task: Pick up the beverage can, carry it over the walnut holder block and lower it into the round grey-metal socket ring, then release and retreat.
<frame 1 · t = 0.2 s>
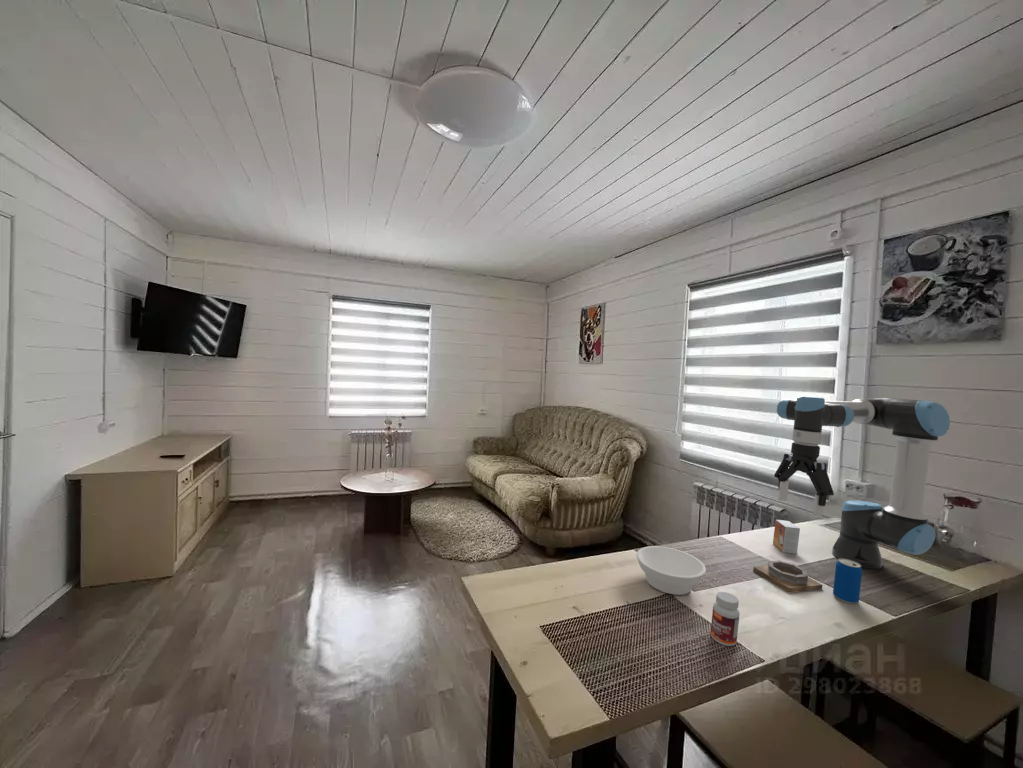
hand: (799, 507, 134), 27 cm above the table, fingers open, 13 cm apart
beverage can: (845, 599, 130), on the table
socket: (786, 579, 141), on the table
pill bottle: (723, 639, 107), on the table
small box: (784, 549, 167), on the table
bowl: (668, 585, 132), on the table
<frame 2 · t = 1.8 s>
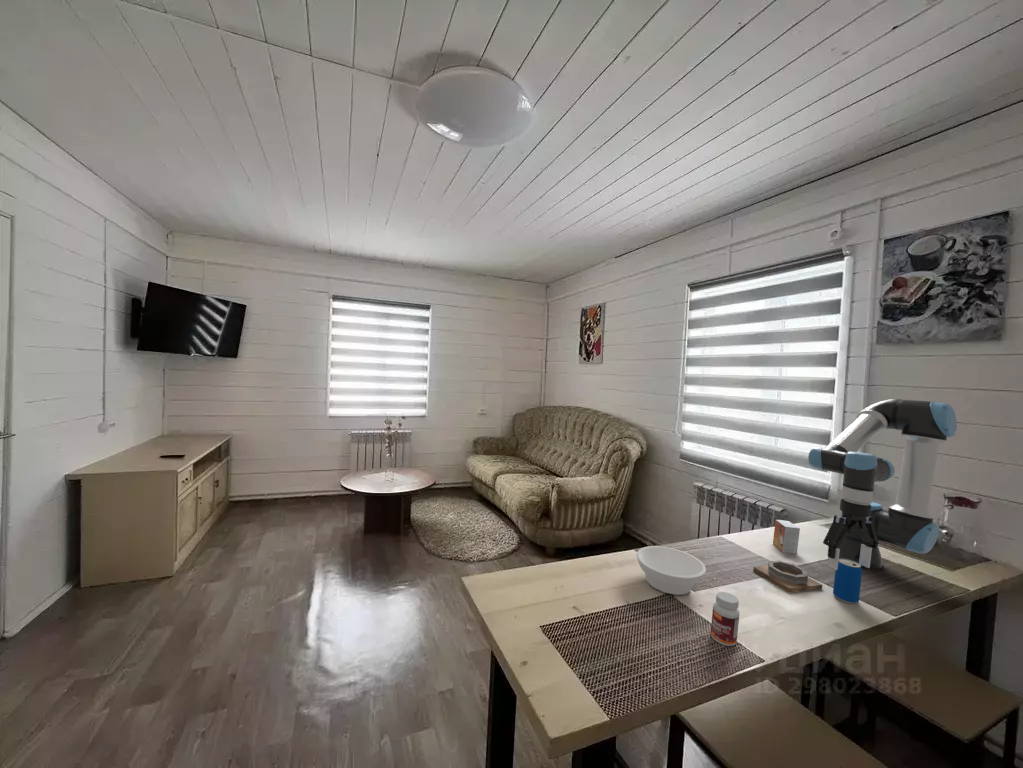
hand: (848, 566, 130), 11 cm above the table, fingers open, 13 cm apart
nothing on the table moved.
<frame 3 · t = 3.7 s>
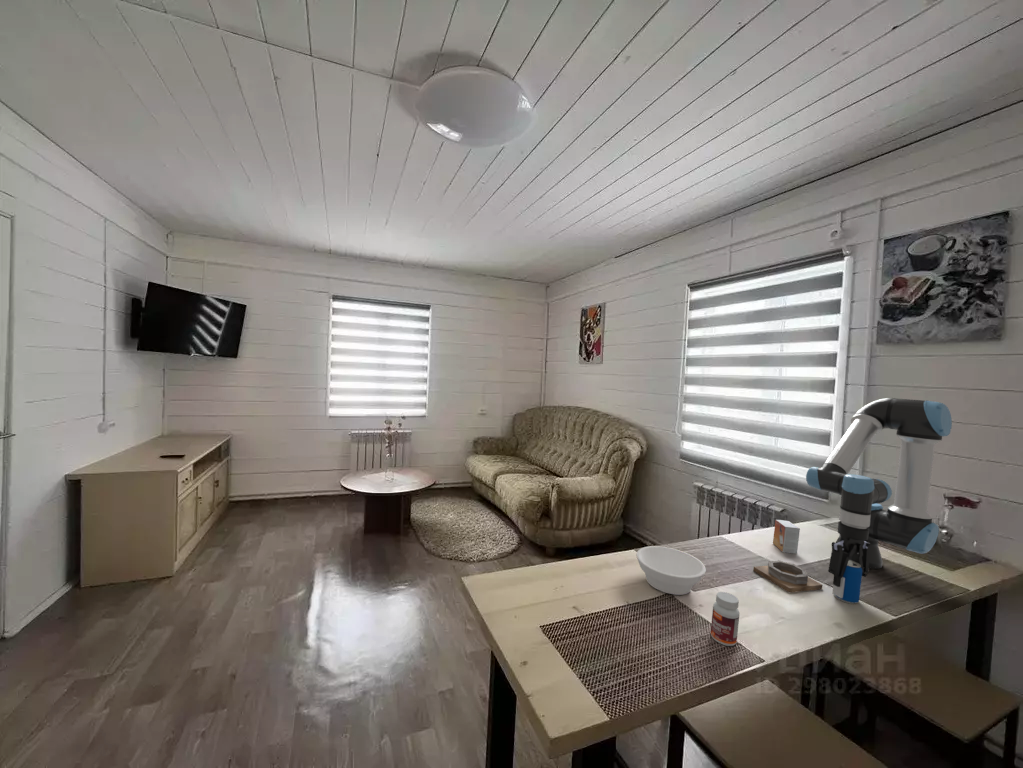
hand: (846, 594, 130), 1 cm above the table, fingers closed on beverage can, 6 cm apart
beverage can: (845, 599, 130), on the table, touching gripper
everything else where it was.
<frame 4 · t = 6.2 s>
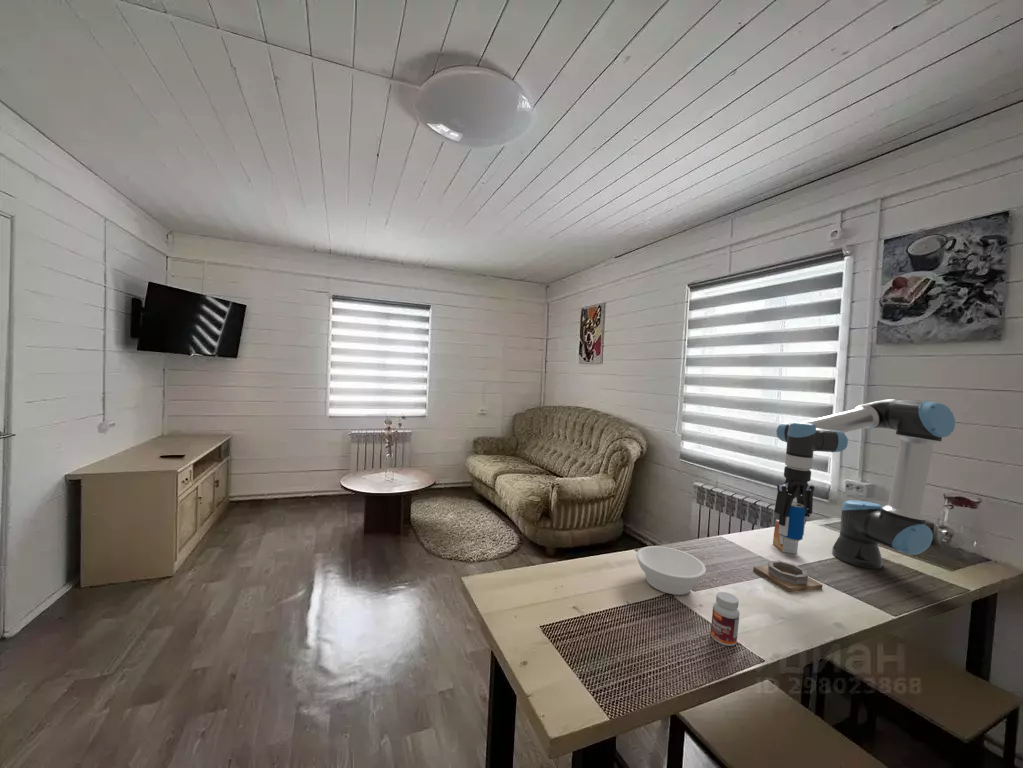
hand: (791, 533, 140), 16 cm above the table, fingers closed on beverage can, 6 cm apart
beverage can: (790, 538, 140), point 15 cm above the table, touching gripper
everything else where it was.
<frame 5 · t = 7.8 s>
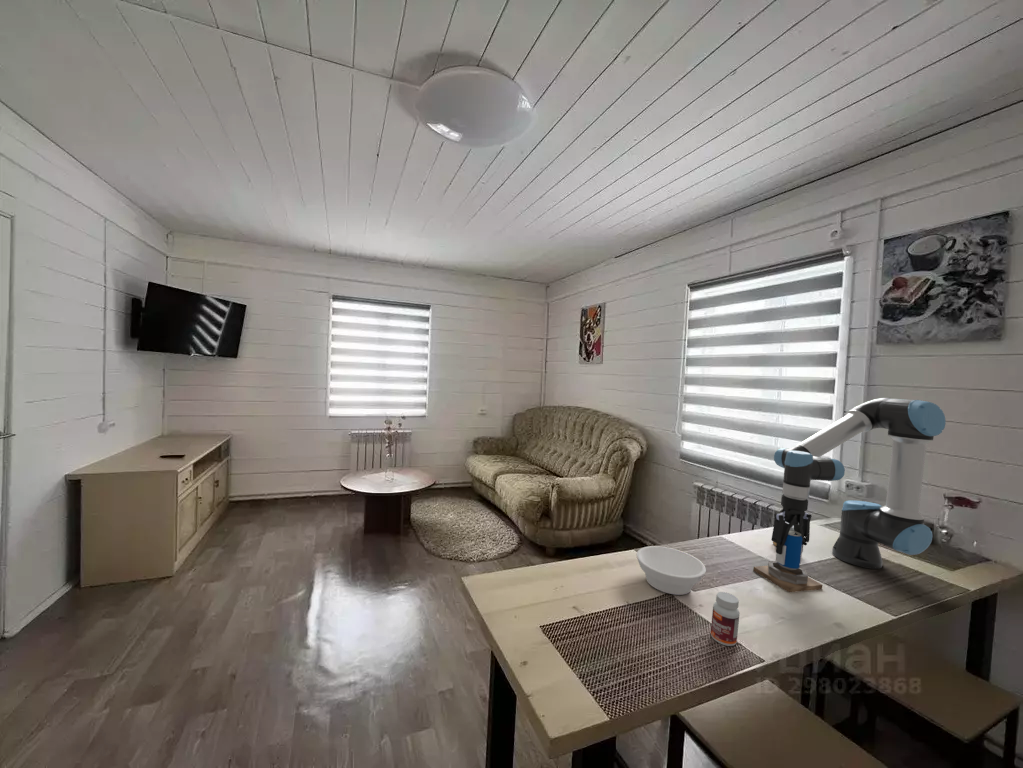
hand: (788, 562, 140), 6 cm above the table, fingers closed on beverage can, 6 cm apart
beverage can: (787, 566, 140), point 5 cm above the table, touching gripper
everything else where it was.
when the fingers open (5 cm above the table, at t = 8.8 s): beverage can drops 2 cm, resting on socket.
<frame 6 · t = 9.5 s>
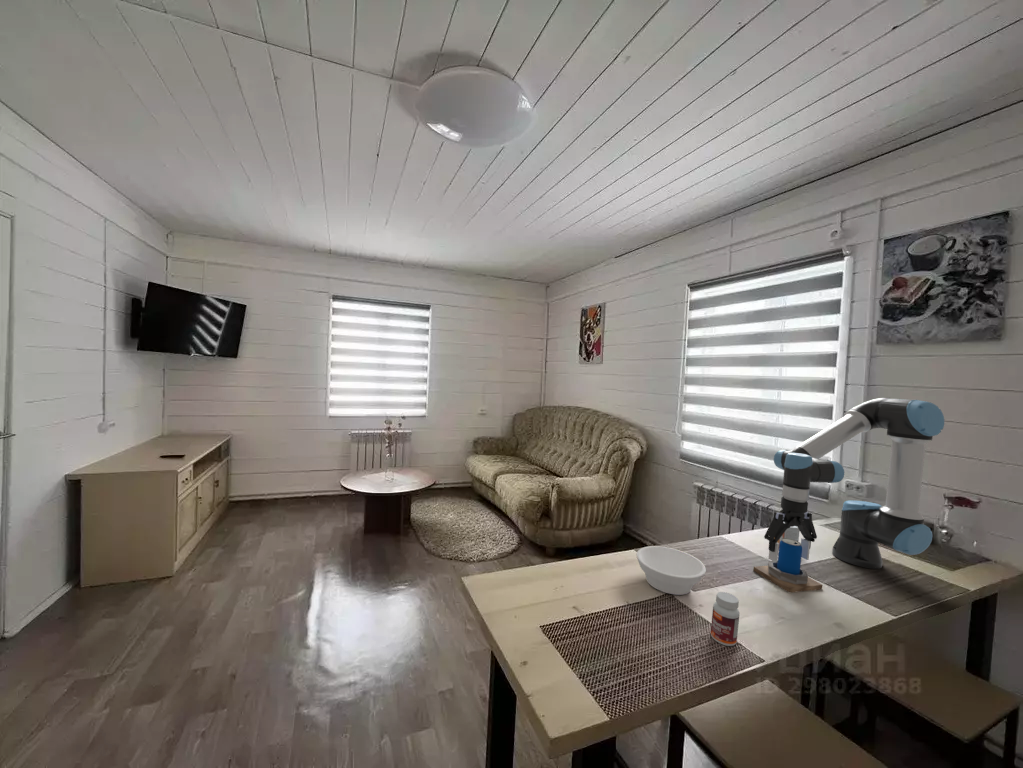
hand: (788, 559, 140), 7 cm above the table, fingers open, 13 cm apart
beverage can: (787, 576, 141), point 1 cm above the table, touching socket
everything else where it was.
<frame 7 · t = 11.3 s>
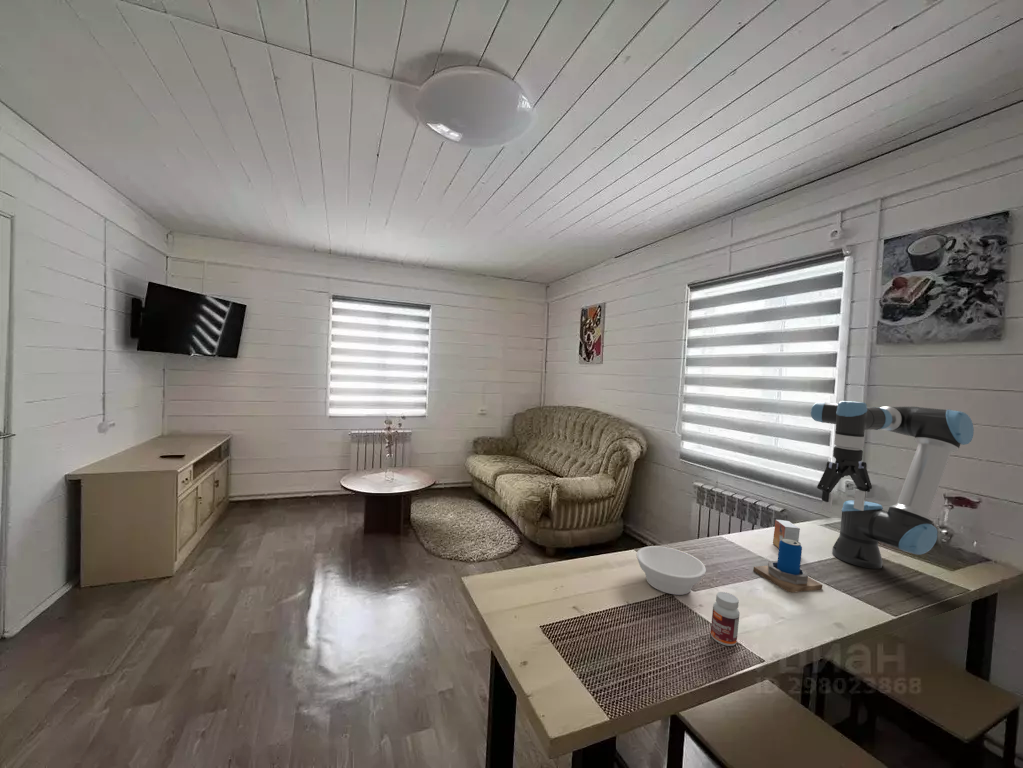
hand: (842, 510, 136), 26 cm above the table, fingers open, 13 cm apart
nothing on the table moved.
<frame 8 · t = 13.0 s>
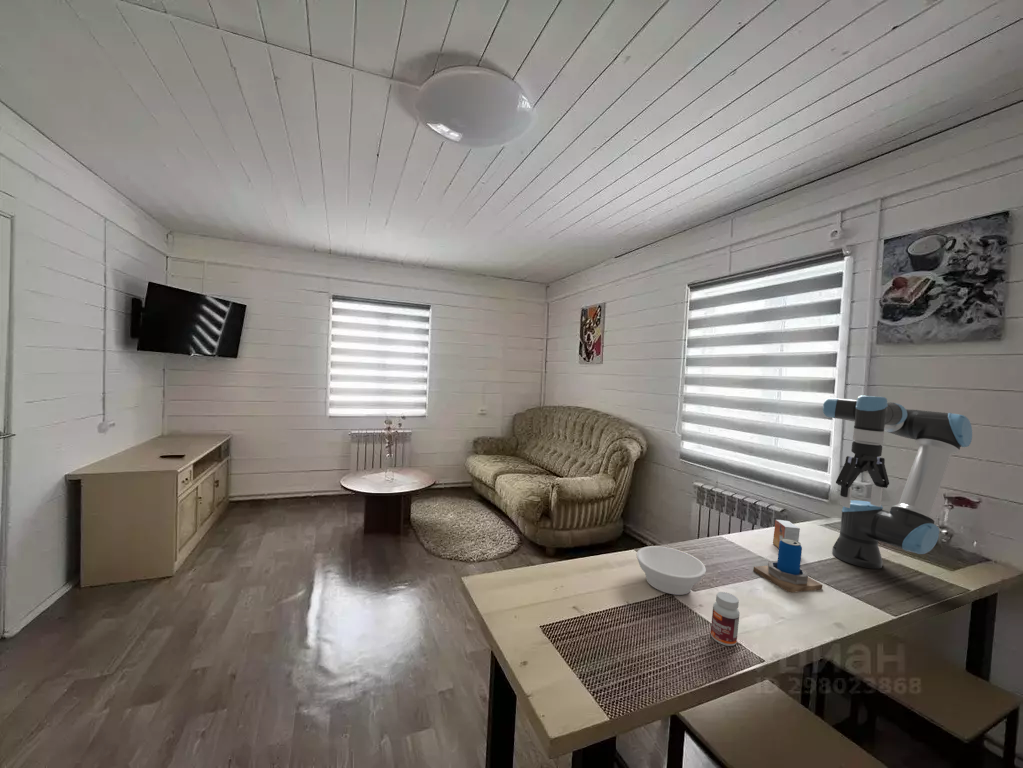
hand: (860, 506, 135), 29 cm above the table, fingers open, 13 cm apart
nothing on the table moved.
at the end: beverage can 0.2 cm from the socket (horizontally); beverage can point 1.3 cm above the table; beverage can tilted 0° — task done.
